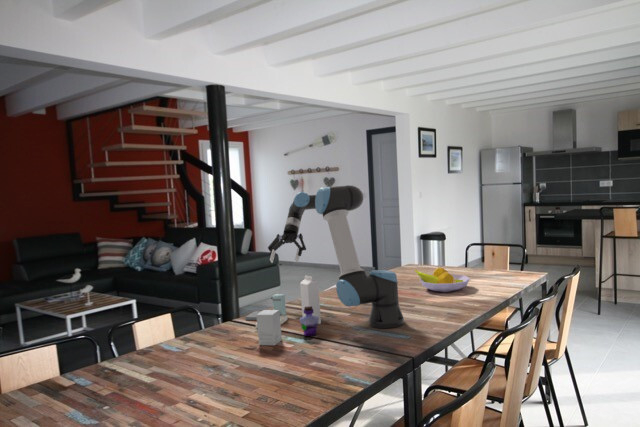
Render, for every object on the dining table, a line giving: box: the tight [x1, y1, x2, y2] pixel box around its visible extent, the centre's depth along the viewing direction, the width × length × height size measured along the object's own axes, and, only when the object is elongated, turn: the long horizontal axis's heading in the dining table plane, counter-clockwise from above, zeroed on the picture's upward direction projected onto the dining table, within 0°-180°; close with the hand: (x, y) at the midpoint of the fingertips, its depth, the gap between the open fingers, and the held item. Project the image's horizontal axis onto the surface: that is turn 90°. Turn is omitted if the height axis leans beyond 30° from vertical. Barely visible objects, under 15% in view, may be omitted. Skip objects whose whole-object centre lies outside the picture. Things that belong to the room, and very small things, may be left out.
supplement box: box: [256, 309, 283, 346], centre depth 194 cm, size 7×7×13 cm
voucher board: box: [255, 314, 288, 329], centre depth 222 cm, size 14×10×2 cm
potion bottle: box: [299, 306, 319, 338], centre depth 201 cm, size 9×9×12 cm
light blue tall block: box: [271, 293, 287, 315], centre depth 231 cm, size 5×4×11 cm
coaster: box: [245, 310, 261, 321], centre depth 235 cm, size 10×10×2 cm
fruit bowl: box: [414, 267, 471, 293], centre depth 264 cm, size 28×27×11 cm
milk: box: [299, 275, 322, 325], centre depth 216 cm, size 6×6×22 cm
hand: (283, 261), depth 240 cm, fingers open, 13 cm apart
